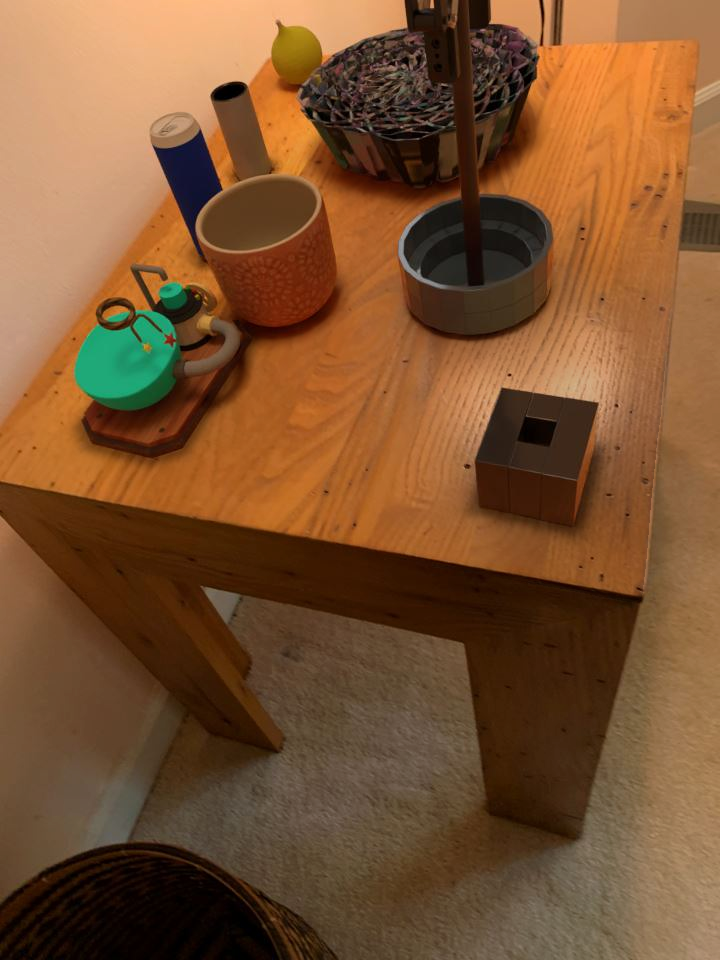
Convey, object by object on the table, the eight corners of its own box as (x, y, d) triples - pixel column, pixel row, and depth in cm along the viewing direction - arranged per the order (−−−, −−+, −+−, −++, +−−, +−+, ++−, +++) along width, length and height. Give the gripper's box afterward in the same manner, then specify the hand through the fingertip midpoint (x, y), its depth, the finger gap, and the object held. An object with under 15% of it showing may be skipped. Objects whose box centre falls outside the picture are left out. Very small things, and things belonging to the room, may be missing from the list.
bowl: (565, 251, 75) (568, 198, 70) (530, 350, 68) (531, 299, 63) (431, 239, 80) (425, 189, 75) (386, 330, 73) (376, 281, 68)
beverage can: (219, 230, 88) (171, 106, 76) (251, 241, 86) (206, 114, 74) (190, 257, 86) (136, 133, 74) (222, 268, 83) (171, 142, 72)
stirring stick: (486, 279, 73) (470, -13, 53) (481, 290, 73) (463, -3, 52) (470, 277, 74) (448, -13, 53) (465, 288, 73) (442, -2, 52)
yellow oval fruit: (275, 97, 105) (254, 21, 97) (283, 72, 109) (263, -3, 101) (324, 90, 103) (307, 13, 96) (330, 65, 108) (314, -11, 100)
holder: (593, 451, 60) (598, 402, 55) (573, 526, 56) (577, 480, 52) (503, 435, 63) (501, 386, 58) (478, 506, 59) (474, 460, 54)
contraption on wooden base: (280, 330, 76) (234, 198, 64) (195, 468, 67) (122, 346, 55) (167, 312, 81) (104, 187, 69) (74, 438, 72) (-17, 320, 60)
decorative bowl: (500, 228, 82) (504, 144, 73) (276, 194, 90) (258, 115, 82) (555, 103, 94) (564, 19, 86) (355, 83, 102) (346, 4, 94)
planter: (286, 360, 73) (253, 270, 64) (207, 315, 79) (168, 228, 70) (370, 287, 77) (350, 193, 68) (289, 250, 83) (261, 160, 75)
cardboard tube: (250, 186, 92) (223, 105, 84) (230, 175, 95) (202, 95, 87) (278, 168, 94) (255, 86, 85) (258, 157, 96) (233, 77, 88)
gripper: (468, -210, 38) (483, 105, 51) (536, -287, 45) (534, 6, 58) (335, -193, 41) (381, 103, 54) (419, -268, 48) (442, 9, 61)
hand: (461, 52), depth 56 cm, fingers open, 7 cm apart
